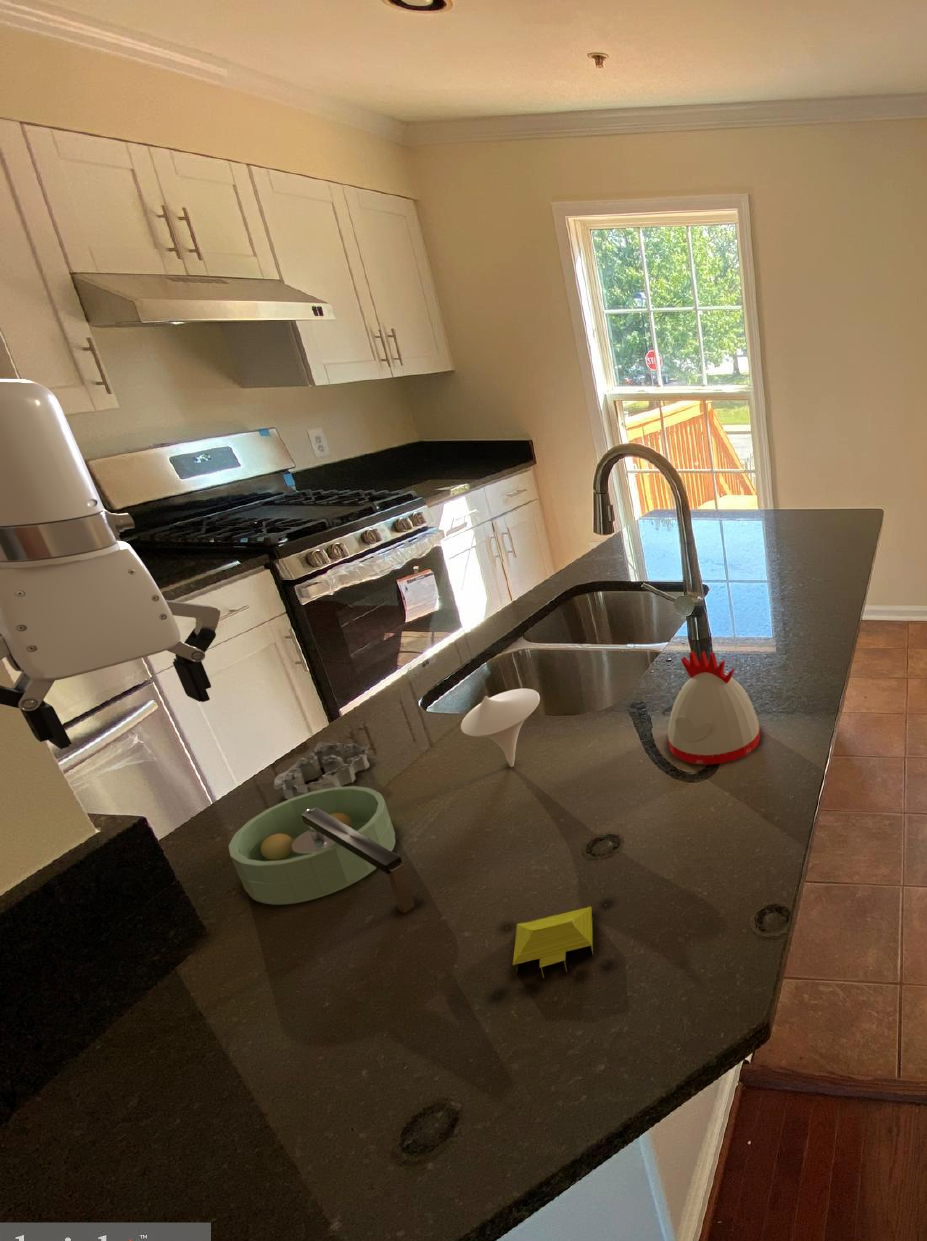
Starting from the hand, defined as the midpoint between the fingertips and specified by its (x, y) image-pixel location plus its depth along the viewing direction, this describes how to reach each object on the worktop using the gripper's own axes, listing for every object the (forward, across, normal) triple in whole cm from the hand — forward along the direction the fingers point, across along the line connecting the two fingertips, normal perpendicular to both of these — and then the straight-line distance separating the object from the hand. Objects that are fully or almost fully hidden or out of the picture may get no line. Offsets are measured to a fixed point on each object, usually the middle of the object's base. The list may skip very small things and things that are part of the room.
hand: (133, 719), depth 64 cm
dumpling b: (+22, -13, -3) cm, 26 cm away
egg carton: (+24, -19, -18) cm, 36 cm away
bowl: (+24, -10, -1) cm, 26 cm away
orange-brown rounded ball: (+22, -8, -5) cm, 24 cm away
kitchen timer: (+24, -54, +22) cm, 63 cm away
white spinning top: (+24, -34, +1) cm, 42 cm away
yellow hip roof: (+24, -14, +34) cm, 44 cm away
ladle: (+24, -10, +7) cm, 27 cm away
